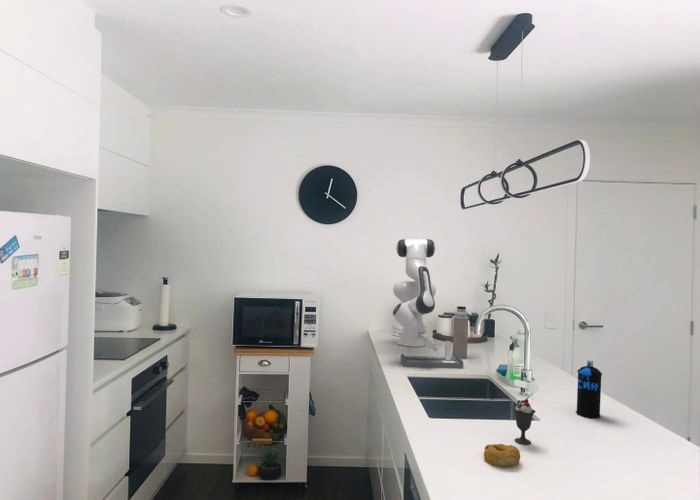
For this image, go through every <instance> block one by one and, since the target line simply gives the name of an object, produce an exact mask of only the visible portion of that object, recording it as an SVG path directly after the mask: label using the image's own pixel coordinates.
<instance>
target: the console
mask: <svg viewBox="0 0 700 500" xmlns="http://www.w3.org/2000/svg"><path fill="white" fill-rule="evenodd" d="M400 362H401V365H402V367H403V368H404V367H405V368H430V369H431V368H434V369H435V368H437V369H462V368H463V369H464V361H463V359H460V358H459V357H458V356H455V357H452V356H451V360H446V359H445V356H423V355H422V356H421V355H419V356H416V355H405V354H404V353H400Z"/></svg>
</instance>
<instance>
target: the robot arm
mask: <svg viewBox="0 0 700 500" xmlns="http://www.w3.org/2000/svg"><path fill="white" fill-rule="evenodd" d="M395 250H396V253H397V255H398V257H400V258H405V274H406V275H407V277H409V278H410V279H412V280H402V281H397V282H395V283H394V285H393V289H392V290H393V295H394V296H395V297H396V298H397V299H398V300H399V301H400V302H399V303H398V304H397V305H395V307H394V309H393V310H392V316H393V317H394V319H395V321H396V322H397V323H398V324H399V325H400V326H401V327H403V328H402V329H401V330H400V332H399V334H398V335H399V338H398V340H397V343H396V344H397V345H401V346H405V347H414V348H417V347H418V348H419V347H427V348H428V349H429V350H433V352H437V351H438V349H437V347H436V344H435V342H434V341H433V340H432V339H431V338H430V337H429V336H428V334H427V330H426V328H427V326H426V325H425V324H424V322H423V316H424V315H427V314H430V313H432V312H433V311H434V309H435V307H436V301H435V299H434V298H435V295H436V292H437V291H436V290H437V289H436V286H435V285H434V283H432V282H431V276H430V272H429V269H428V268H427V258H432V257H433V256H434V254H435V252H436V244H435V241H433V240H432V239H429V238H427V239H425V238H409V239H408V238H407V239H405V238H402V239H399V240H398V241H397V244H396V247H395Z"/></svg>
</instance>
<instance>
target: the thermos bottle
mask: <svg viewBox="0 0 700 500" xmlns="http://www.w3.org/2000/svg"><path fill="white" fill-rule="evenodd" d="M466 309H467V307H466V306H461V305H460V306H458V305H457V306H456V311H455V312H454V316H453V327H452V348H451V357H455V356H458V357H459V358H460V359H461V360H466V359H467V358H468V342H469V341H468V338H469V316H468V313H467V311H466Z"/></svg>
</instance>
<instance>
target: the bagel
mask: <svg viewBox="0 0 700 500" xmlns="http://www.w3.org/2000/svg"><path fill="white" fill-rule="evenodd" d="M483 458H484V461H485V462H486V463H488V464H490V465H492V466H495V467H499V468H501V467H502V468H508V469H509V468H510V469H511V468H515V467H516V466H518V464H519V463H520V460H521V451H520V450H519V449H518V447H517V446H515V445H514V444H513V445H512V444H508V445H507V444H505V443H498V444H497V443H494V444H486V445H485V447H484V451H483Z"/></svg>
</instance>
